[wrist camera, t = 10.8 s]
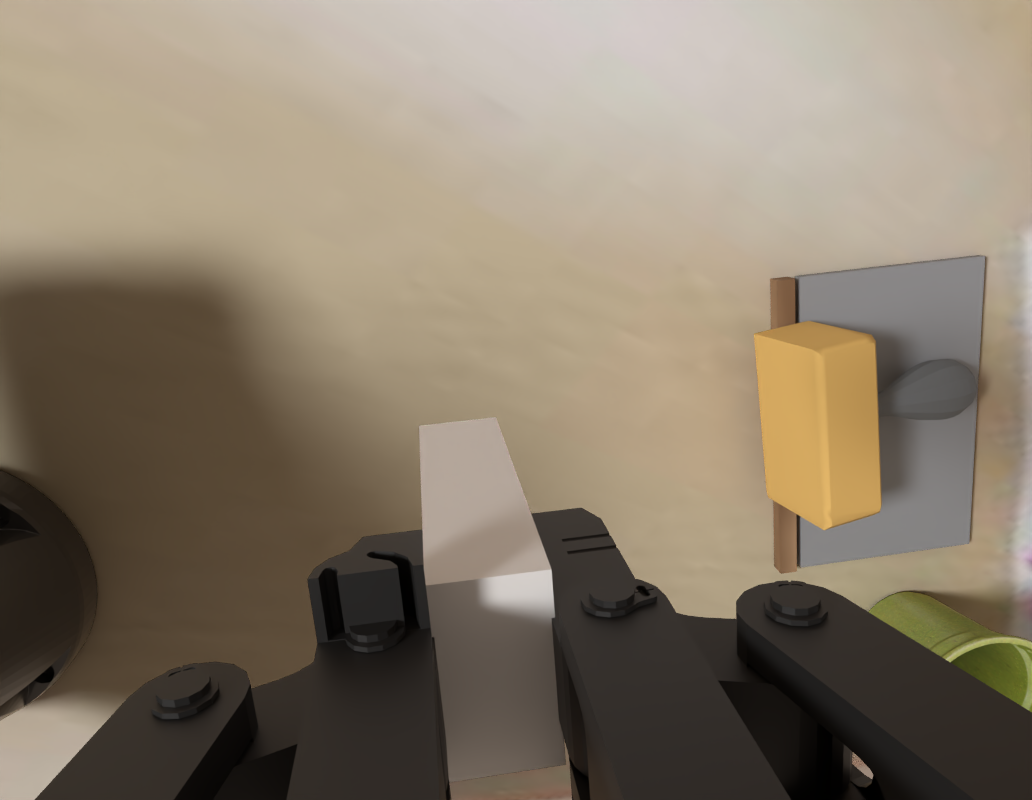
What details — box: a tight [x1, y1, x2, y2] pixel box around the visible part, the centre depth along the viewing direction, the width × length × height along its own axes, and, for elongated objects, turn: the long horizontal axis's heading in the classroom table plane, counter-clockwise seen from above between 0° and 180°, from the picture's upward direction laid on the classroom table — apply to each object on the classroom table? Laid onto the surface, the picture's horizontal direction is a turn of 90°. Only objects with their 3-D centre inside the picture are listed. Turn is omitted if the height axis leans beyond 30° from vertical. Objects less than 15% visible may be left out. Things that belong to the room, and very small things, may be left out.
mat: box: [795, 255, 985, 567], centre depth 49 cm, size 11×18×1 cm, turn 6°
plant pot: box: [869, 592, 1032, 712], centre depth 49 cm, size 9×9×9 cm
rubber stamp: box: [754, 321, 977, 530], centre depth 45 cm, size 10×6×12 cm
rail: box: [770, 277, 797, 574], centre depth 48 cm, size 1×18×1 cm, turn 6°
